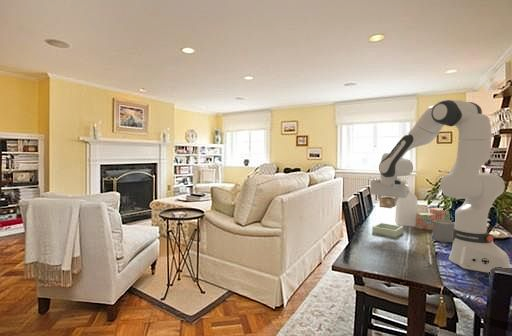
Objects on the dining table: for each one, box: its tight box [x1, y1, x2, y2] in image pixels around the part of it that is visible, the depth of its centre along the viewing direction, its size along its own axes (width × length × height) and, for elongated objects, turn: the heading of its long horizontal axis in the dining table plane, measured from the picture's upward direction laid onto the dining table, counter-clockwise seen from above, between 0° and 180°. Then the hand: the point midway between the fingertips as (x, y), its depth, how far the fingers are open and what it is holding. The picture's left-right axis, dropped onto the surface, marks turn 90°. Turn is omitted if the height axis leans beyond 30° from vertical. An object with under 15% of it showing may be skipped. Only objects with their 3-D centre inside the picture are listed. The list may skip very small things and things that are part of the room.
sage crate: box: [371, 222, 404, 239], centre depth 166 cm, size 13×13×4 cm
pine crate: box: [379, 196, 396, 209], centre depth 165 cm, size 6×9×5 cm, turn 137°
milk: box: [394, 184, 419, 228], centre depth 188 cm, size 12×12×26 cm
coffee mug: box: [432, 220, 455, 243], centre depth 153 cm, size 13×10×10 cm
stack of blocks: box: [416, 207, 451, 230], centre depth 177 cm, size 21×6×12 cm, turn 93°
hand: (387, 203), depth 165 cm, fingers closed on pine crate, 6 cm apart
